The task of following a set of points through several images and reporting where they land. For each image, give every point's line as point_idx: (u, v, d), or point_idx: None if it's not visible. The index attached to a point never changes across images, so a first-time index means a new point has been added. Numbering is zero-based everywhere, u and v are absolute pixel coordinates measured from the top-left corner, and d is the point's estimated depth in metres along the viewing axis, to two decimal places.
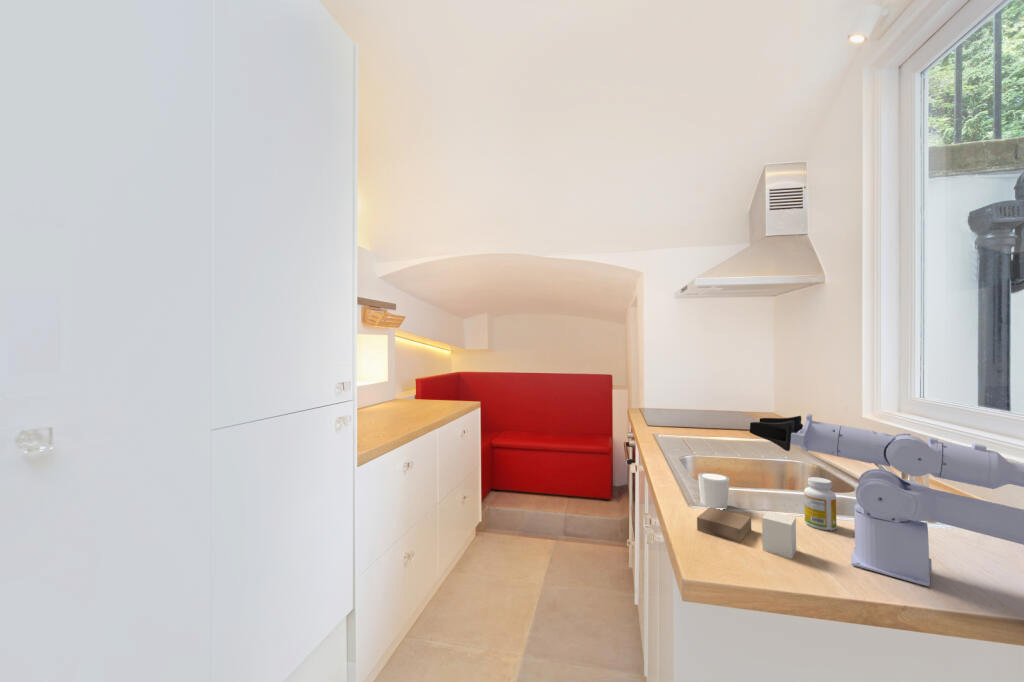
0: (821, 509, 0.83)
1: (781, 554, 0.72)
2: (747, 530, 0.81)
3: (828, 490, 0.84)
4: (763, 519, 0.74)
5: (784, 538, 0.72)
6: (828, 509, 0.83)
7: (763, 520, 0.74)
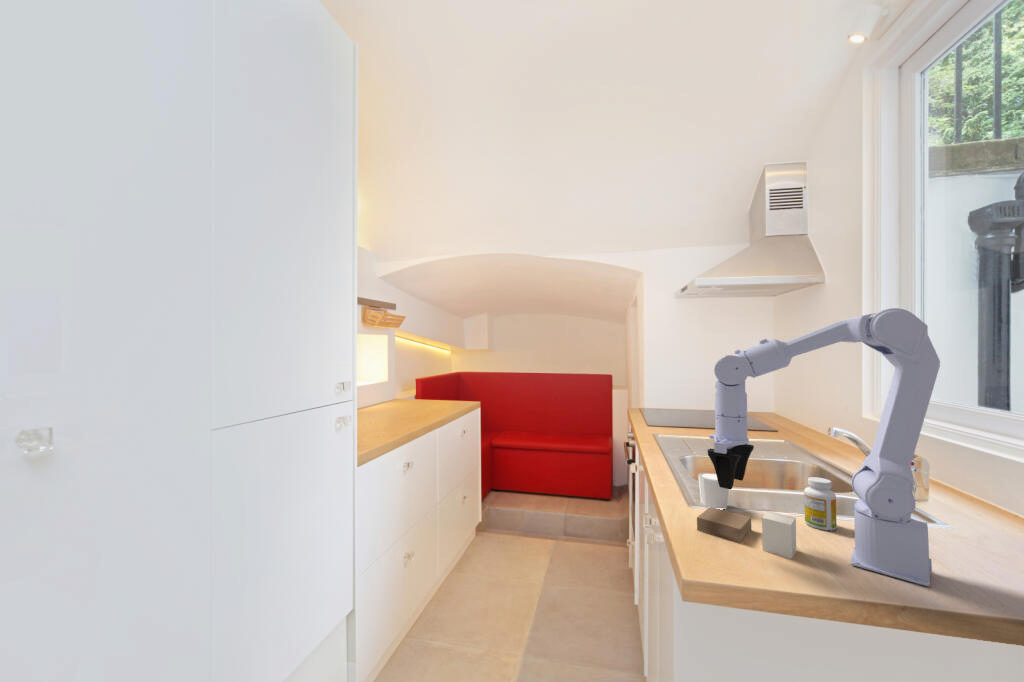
0: (821, 509, 0.83)
1: (781, 554, 0.72)
2: (747, 530, 0.81)
3: (828, 490, 0.84)
4: (763, 519, 0.74)
5: (784, 538, 0.72)
6: (828, 509, 0.83)
7: (763, 520, 0.74)
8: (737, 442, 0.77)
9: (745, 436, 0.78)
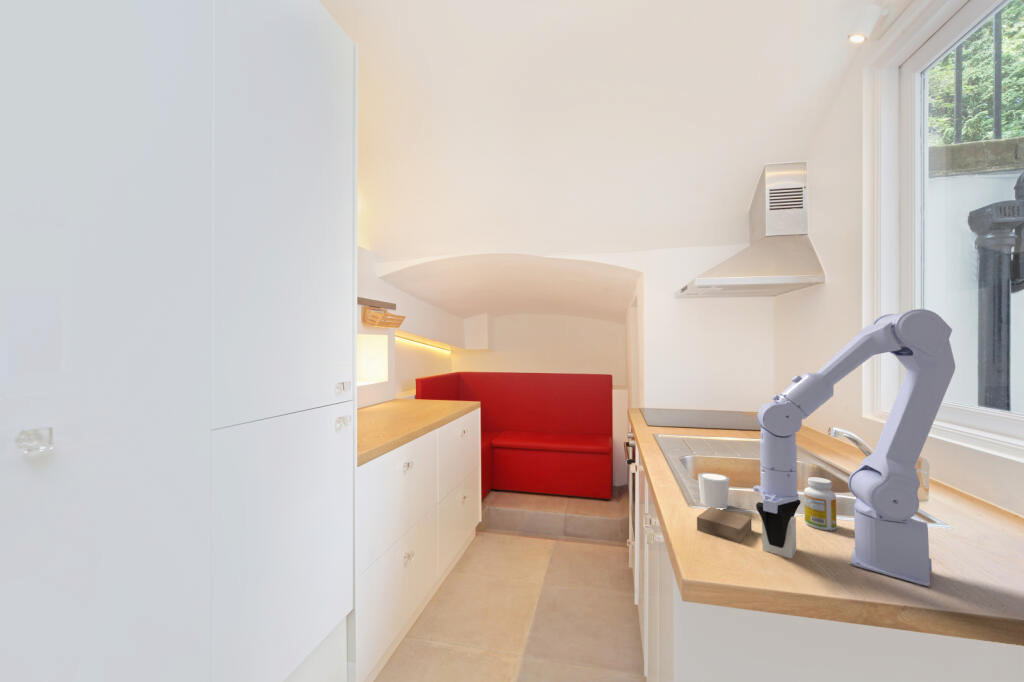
0: (821, 509, 0.83)
1: (781, 554, 0.72)
2: (747, 530, 0.81)
3: (828, 490, 0.84)
4: None
5: None
6: (828, 509, 0.83)
7: None
8: (787, 499, 0.71)
9: (795, 491, 0.72)
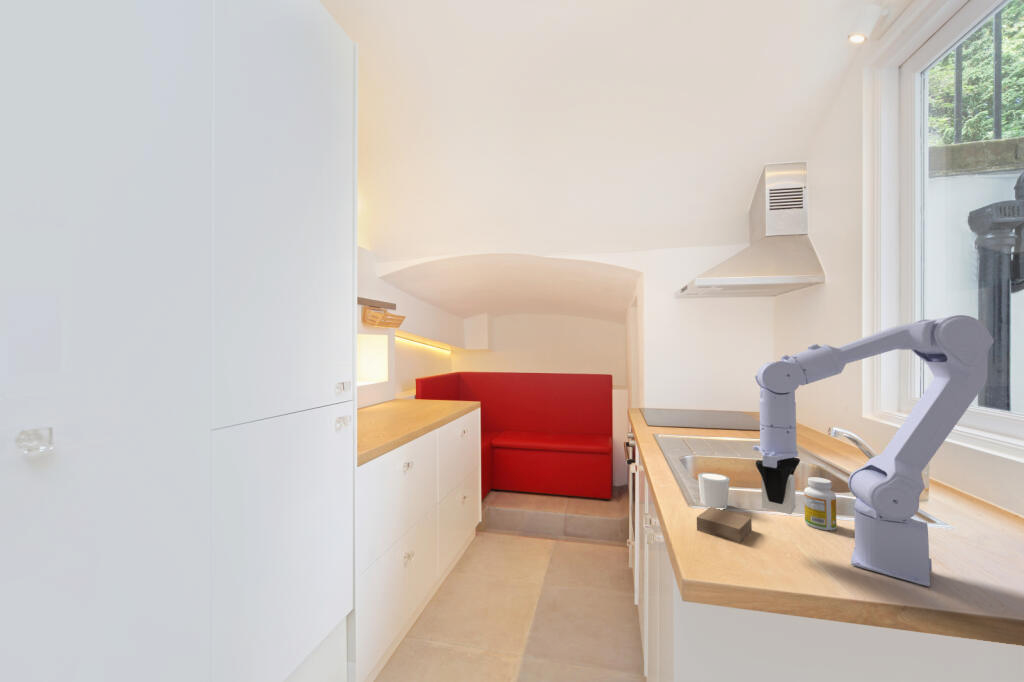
0: (821, 509, 0.83)
1: (780, 510, 0.73)
2: (747, 530, 0.81)
3: (828, 490, 0.84)
4: None
5: None
6: (828, 509, 0.83)
7: None
8: (787, 455, 0.71)
9: (794, 448, 0.73)
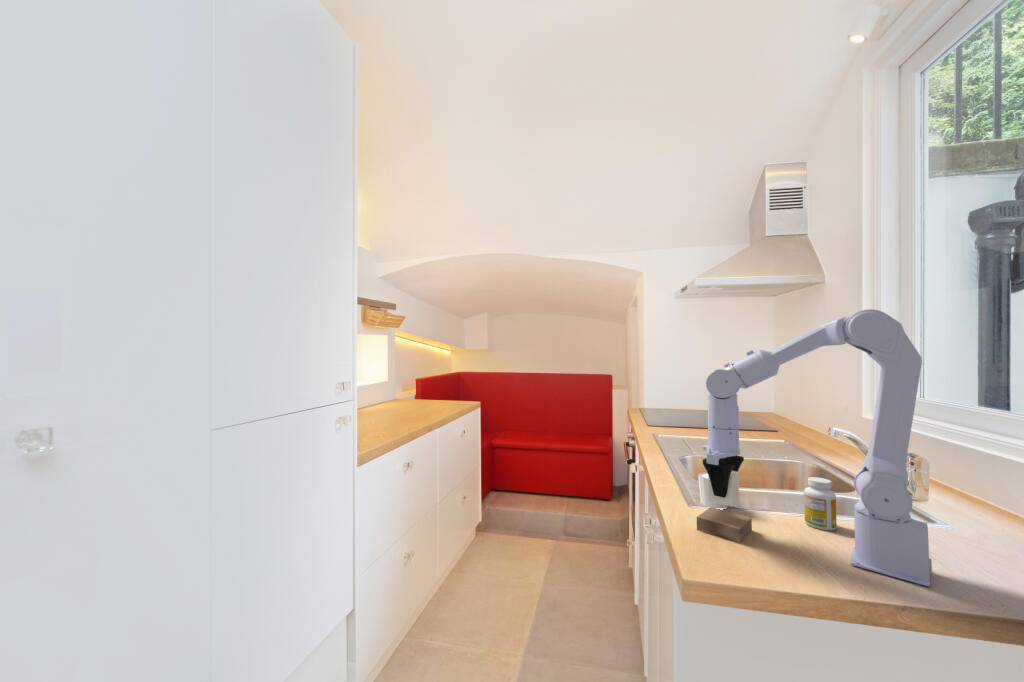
0: (821, 509, 0.83)
1: (724, 503, 0.81)
2: (747, 530, 0.81)
3: (828, 490, 0.84)
4: None
5: None
6: (828, 509, 0.83)
7: None
8: (729, 453, 0.80)
9: (737, 447, 0.81)
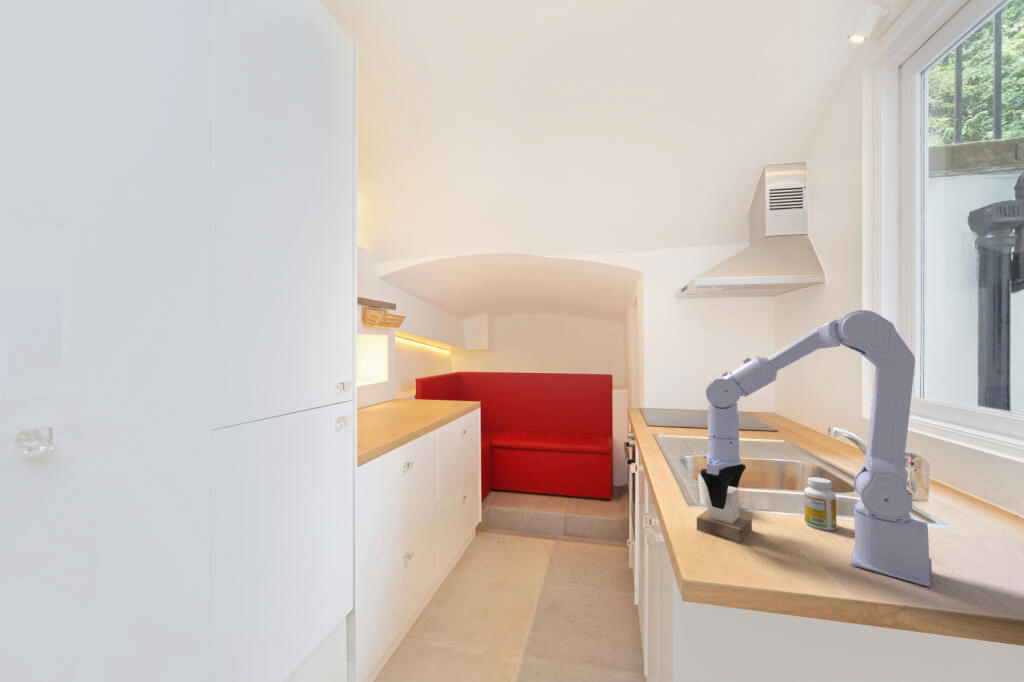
0: (821, 509, 0.83)
1: (723, 520, 0.81)
2: (747, 531, 0.81)
3: (828, 490, 0.84)
4: None
5: (726, 505, 0.81)
6: (828, 509, 0.83)
7: None
8: (729, 463, 0.80)
9: (737, 457, 0.81)
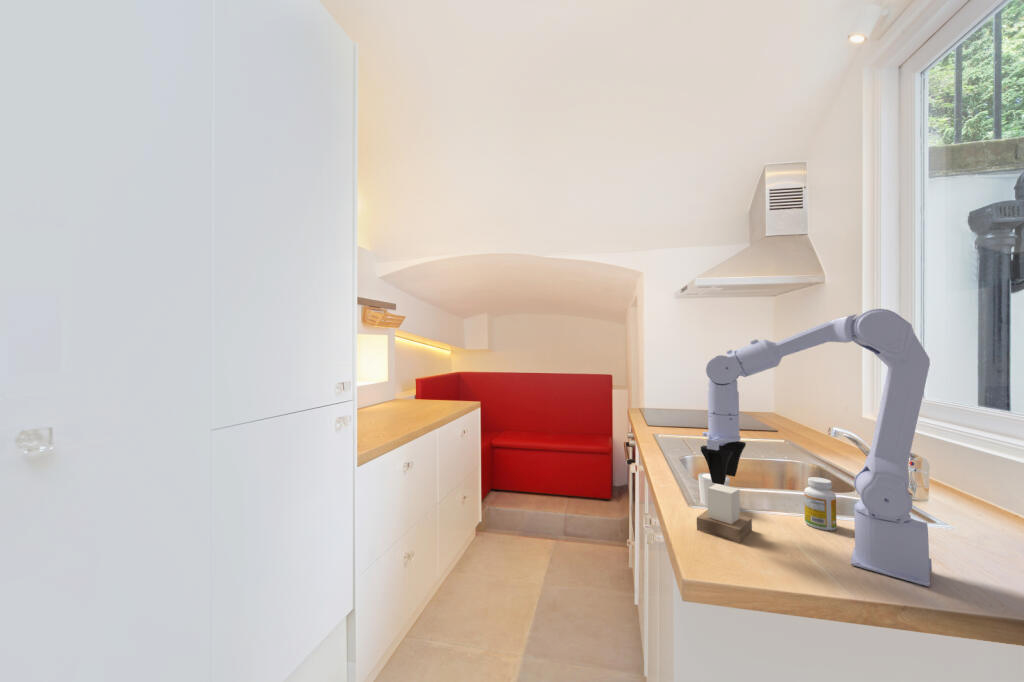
0: (821, 509, 0.83)
1: (723, 520, 0.81)
2: (747, 531, 0.81)
3: (828, 490, 0.84)
4: (709, 489, 0.83)
5: (725, 506, 0.80)
6: (828, 509, 0.83)
7: (709, 490, 0.83)
8: (729, 439, 0.80)
9: (737, 433, 0.81)
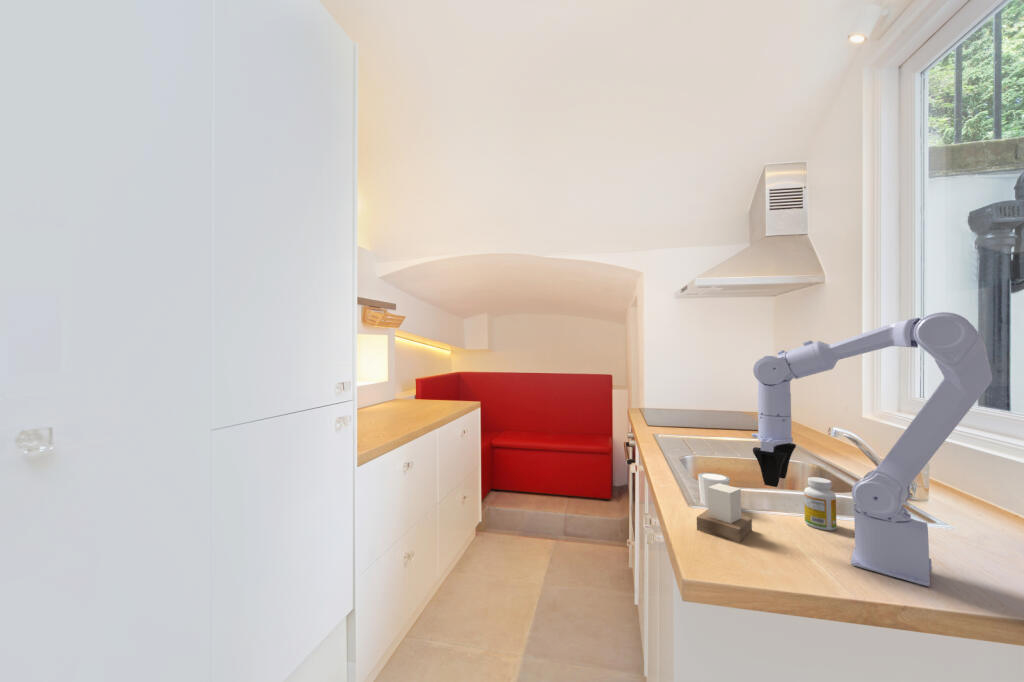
0: (821, 509, 0.83)
1: (722, 519, 0.81)
2: (747, 531, 0.81)
3: (828, 490, 0.84)
4: (708, 488, 0.83)
5: (724, 505, 0.81)
6: (828, 509, 0.83)
7: (708, 489, 0.83)
8: (783, 441, 0.78)
9: (790, 435, 0.80)
